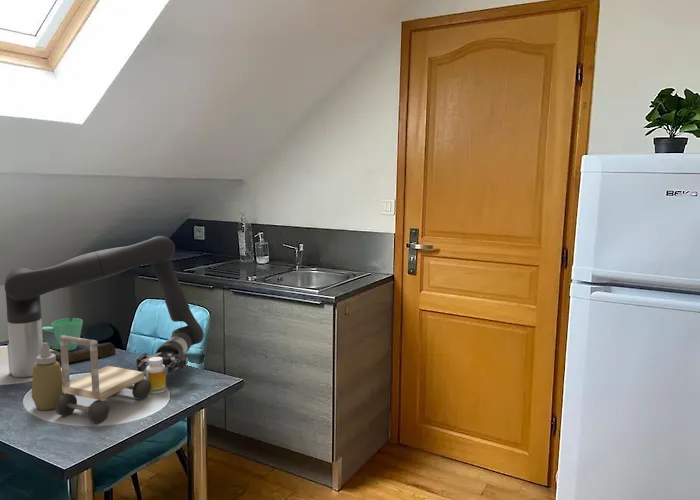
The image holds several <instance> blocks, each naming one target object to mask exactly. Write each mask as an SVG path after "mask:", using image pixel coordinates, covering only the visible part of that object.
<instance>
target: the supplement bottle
mask: <svg viewBox="0 0 700 500" xmlns="http://www.w3.org/2000/svg"><path fill="white" fill-rule="evenodd" d="M162 363H163V358H162V357H152V358H149V359H148V363H147V364H149V366H147V368H146V369H145V371H146V372H145V376H146V380H149V382H150V384H151V389H150V393H149V394H160V393H163V392H164V391H166V389H167V379H166V378H167V374H166V367H165V365H163V364H162Z"/></svg>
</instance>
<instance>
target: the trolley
mask: <svg viewBox="0 0 700 500" xmlns="http://www.w3.org/2000/svg"><path fill="white" fill-rule="evenodd" d="M59 340H60V349H59V350H60V354H61V365H60V366H61V372H62V381H63V385H62V391H63V393H64V394H62V395H61V396H60V397H59V398H58V399H57V401H56V404H55V408H54V410H55V413H56V414H57V415H59V416H64V417H66V416H67V417H68V416H69V415H71V414H72V413H74V411H75V410H79V411H83V412H87V420H88V421H89V422H91V423H95V424H101V423H103V422H104V421H105V420H106V419H107V417H108V415H109V412H110V406H109V403H108V402H107V401H105V400H104V399H107V398H109V397H110V396H113V395H114V394H116V393H119V392H121V391H122V390H125V389H126V390H127V389H128V390H132V396H133V397H134V399H136V400H140V401H141V400H145V399H146V398H147V397H148V396H149V395H150V394H151V393H150V389H151V384H150V382H149V380H147V379H145V372H144V371H142V372H140V371H137V370H135V369H134V370H133V369H128V368H124V367H118V366H117V367H116V366H111V365H106V366H104V367H101V368H99V360H98V359H99V358H98V352H97V345H98V344H99V343H98V340H95V339H89V338H82V337H80V338H77V337H71V336H64V335H61V336H60V337H59ZM67 342H68V343H74V344H78V345H80V346H88V347H89V349H90V358H89V359H90V373H88V374H85V375H83V376H80V377H78V378H75V379H73V380H72V381H70V380H71V379H70V365H69V364H70V363H69V360H68V353H69V351H68V343H67ZM77 397H83V398H88V399H91V400H92V399H93V400H94V401H93V402H92V403H91V404H90V405H89V406H86V405H82V404H78V399H77Z"/></svg>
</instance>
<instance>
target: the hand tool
mask: <svg viewBox="0 0 700 500" xmlns="http://www.w3.org/2000/svg"><path fill="white" fill-rule="evenodd" d="M97 352H98V359H101V358H105V357H109V356H112V355H114V354H116V347H115V346H114V343H112V342H103V343H98V344H97ZM55 355H56V361H57V362H59V363H60V366H62V365H61V353H60V354H55ZM89 359H90V348H86V349H82V350H76V351H70V352H68V360H69V364H70V363H73V362H79V361H83V360H89Z"/></svg>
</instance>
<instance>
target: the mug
mask: <svg viewBox="0 0 700 500" xmlns="http://www.w3.org/2000/svg"><path fill="white" fill-rule="evenodd" d="M83 324H84V323H83V319H81V318H76V317H73V318H71V320H70V318H69V317H68V318H67V317H66V318H60V319H57V320H54V321H52V322H51V326H42V333H43V332H46V331H51V332H53V334H54V337H55V340H56V343H57V344H58V345H56V344H51V343H49V342H47V341H46V340H45V339H44V338H43V343H45V342H47V343H48V346H49V349H57V350H61V349H60V340H59V337H60V336H61V335H64V336H71V337H77V338H81V333H82V328H83ZM67 343H68V342H67ZM78 345H79V344H74V343H68V352H69V351H70V352H72V351H74V350H76V349H77V347H78Z"/></svg>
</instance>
